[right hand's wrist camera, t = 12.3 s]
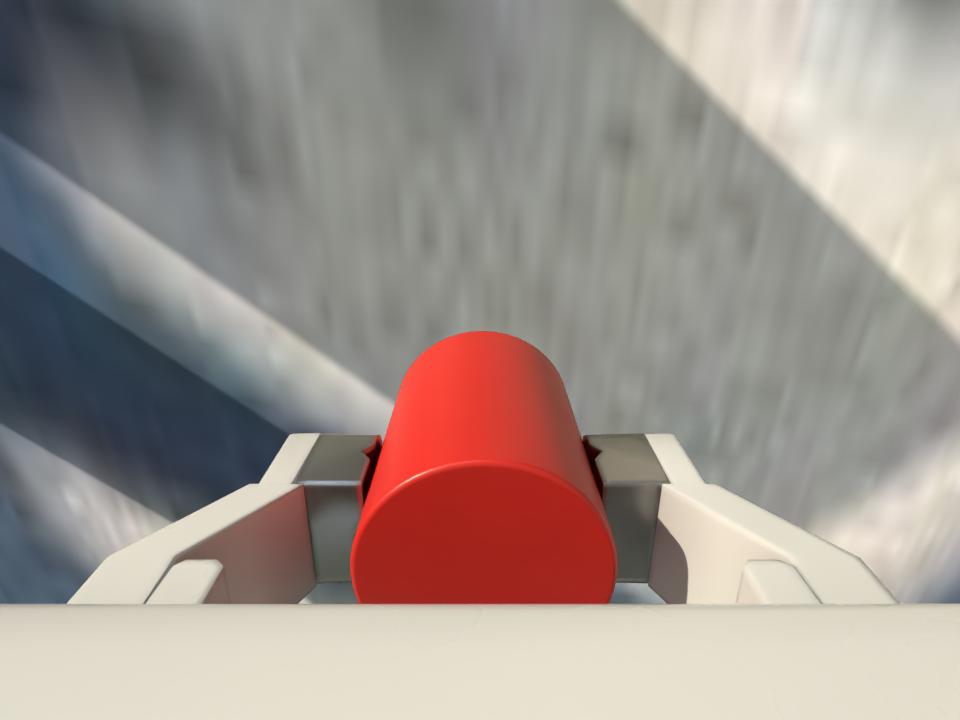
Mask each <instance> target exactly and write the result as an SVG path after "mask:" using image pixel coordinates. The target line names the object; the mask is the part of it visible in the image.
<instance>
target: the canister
mask: <svg viewBox="0 0 960 720" xmlns="http://www.w3.org/2000/svg"><path fill="white" fill-rule="evenodd" d="M617 569H618V558H617V549H616V544H615V541H614V538H613V534H612V531H611V528H610V525H609V522H608V519H607V516H606V512H605V509H604V506H603V503H602V500H601V497H600V494H599V491H598V488H597V485H596V482H595V479H594V476H593V473H592V469H591V466H590V463H589V460H588V457H587V454H586V451H585V448H584V445H583V442H582V439H581V436H580V433H579V429H578V426H577V423H576V420H575V417H574V414H573V411H572V408H571V405H570V402H569V399H568V396H567V393H566V390H565V386H564V383H563V381H562V379H561V377H560V375H559V373H558V371H557V370H556V368H555V367H554V365H553V364H552V363H551V362H550V360H549V359H548V358H547V357H546V356H545V355H544V354H543V353H541V352H540V351H539V350H538V349H537V348H535V347H534V346H532V345H531V344H529V343H527V342H525V341H523V340H521V339H519V338H516V337H513V336H511V335H508V334H503V333H498V332H489V331H477V332H468V333H462V334H458V335H455V336H452V337H449V338H446V339H444V340H442V341H440V342H438V343H436V344H435V345H433V346H431V347H430V348H429V349H427V350H426V351H425V352H424V353H422V354H421V355H420V356H419V357H418V358H417V359H416V361H415V362H414V363H413V364H412V365H411V367H410V368H409V370H408V371H407V373H406V375H405V377H404V379H403V381H402V384H401V387H400V390H399V393H398V396H397V400H396V403H395V406H394V409H393V413H392V416H391V419H390V423H389V426H388V429H387V432H386V436H385V439H384V442H383V446H382V449H381V452H380V455H379V459H378V462H377V465H376V469H375V472H374V475H373V478H372V482H371V485H370V488H369V492H368V495H367V498H366V501H365V505H364V508H363V511H362V515H361V518H360V521H359V524H358V528H357V531H356V534H355V538H354V541H353V544H352V551H351V557H350V573H351V578H352V584H353V588H354V591H355V594H356V597H357V600H358V603H359V604H609V602H610V599H611V597H612V594H613V591H614V588H615V583H616V578H617Z"/></svg>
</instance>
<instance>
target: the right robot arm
mask: <svg viewBox="0 0 960 720" xmlns="http://www.w3.org/2000/svg"><path fill="white" fill-rule="evenodd" d="M582 442H583V445H584V448H585V451H586V454H587V457H588V460H589V463H590V466H591V469H592V473H593V476H594V479H595V482H596V485H597V488H598V491H599V494H600V497H601V500H602V503H603V506H604V509H605V512H606V516H607V519H608V522H609V525H610V528H611V531H612V534H613V538H614V541H615V544H616V549H617V558H618V569H617V578H616V582H618V583H649V584H648V586H649V587H650V588H651V589H652V590H653V591H654V592H656V593H657V594H658V595H659V596H660V597H661V598H662V599H663V600H664V601H665V602H666V603H667V604H298V603H299V602H300V601H301V600H302V599H303V598H304V597H305V596H306V595H307V594H308V593H310V592H311V591H312V590H313V589H314V588H315V587H316V583H345V582H352V578H351V573H350V557H351V551H352V544H353V541H354V538H355V534H356V531H357V528H358V524H359V521H360V518H361V515H362V511H363V508H364V505H365V501H366V498H367V495H368V492H369V488H370V485H371V482H372V478H373V475H374V472H375V469H376V465H377V462H378V459H379V455H380V452H381V449H382V440H381V437H380V435H360V434H321V433H307V434H291V435H289V436H288V438H287V440H286V441H285V443H284V444H283V446H282V448H281V449H280V451H279V452H278V454H277V455H276V457H275V459H274V460H273V462H272V463H271V465H270V467H269V468H268V470H267V471H266V473H265V475H264V476H263V478H262V479H261V481H260V483H259V484H248V485H247V486H245V487H243V488H241V489H239V490H237V491H235V492H233V493H231V494H229V495H227V496H225V497H223V498H221V499H219V500H217V501H215V502H213V503H212V504H210V505H208V506H206V507H204V508H202V509H200V510H198V511H196V512H194V513H192V514H190V515H188V516H186V517H184V518H182V519H180V520H179V521H177V522H175V523H173V524H171V525H169V526H167V527H165V528H163V529H161V530H159V531H157V532H155V533H153V534H151V535H149V536H147V537H145V538H144V539H142V540H140V541H138V542H136V543H134V544H132V545H130V546H128V547H126V548H124V549H122V550H120V551H118V552H116V553H114V554H112V555H111V556H109V557H107V558H106V559H105V560H104V562H103V563H102V564H101V565H100V566H99V567H98V568H97V570H96V571H95V572H94V573H93V574H92V575H91V576H90V578H89V579H88V580H87V581H86V582H85V583H84V584H83V586H82V587H81V588H80V589H79V590H78V591H77V592H76V594H75V595H74V596H73V597H72V598H71V599H70V600H69V602H68V603H67V604H0V720H960V604H900V603H899V602H898V600H897V599H896V598H895V597H894V596H893V595H892V594H891V593H890V591H889V590H888V589H887V588H886V587H885V586H884V585H883V583H882V582H881V581H880V580H879V579H878V578H877V577H876V576H875V574H874V573H873V572H872V571H871V570H870V569H869V568H868V566H867V565H866V564H865V563H864V562H863V561H862V560H861V558H859V557H857V556H855V555H853V554H851V553H849V552H847V551H845V550H844V549H842V548H840V547H838V546H836V545H834V544H832V543H830V542H828V541H826V540H824V539H822V538H820V537H818V536H816V535H814V534H812V533H810V532H808V531H806V530H804V529H803V528H801V527H799V526H797V525H795V524H793V523H791V522H789V521H787V520H785V519H783V518H781V517H779V516H777V515H775V514H773V513H771V512H769V511H767V510H765V509H763V508H762V507H760V506H758V505H756V504H754V503H752V502H750V501H748V500H746V499H744V498H742V497H740V496H738V495H736V494H734V493H732V492H730V491H728V490H726V489H724V488H722V487H721V486H719V485H717V484H706V483H705V481H704V480H703V478H702V477H701V475H700V473H699V472H698V470H697V469H696V467H695V466H694V464H693V463H692V461H691V460H690V458H689V457H688V455H687V453H686V452H685V450H684V449H683V447H682V446H681V444H680V443H679V441H678V440H677V438H676V437H675V435H673V434H671V433H660V434H609V435H585V436H583V440H582Z"/></svg>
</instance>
